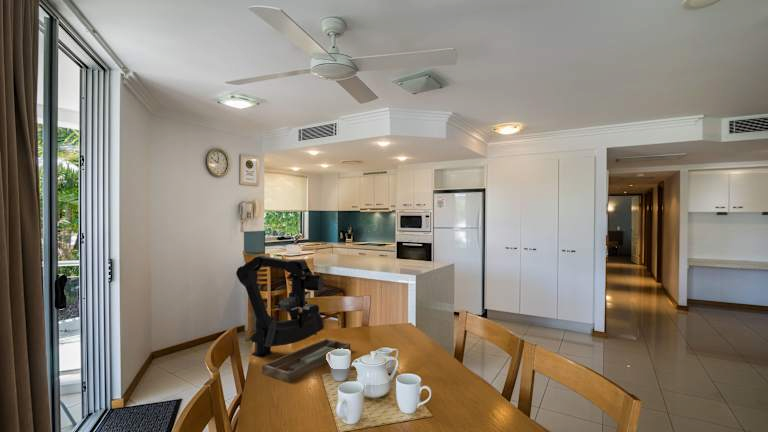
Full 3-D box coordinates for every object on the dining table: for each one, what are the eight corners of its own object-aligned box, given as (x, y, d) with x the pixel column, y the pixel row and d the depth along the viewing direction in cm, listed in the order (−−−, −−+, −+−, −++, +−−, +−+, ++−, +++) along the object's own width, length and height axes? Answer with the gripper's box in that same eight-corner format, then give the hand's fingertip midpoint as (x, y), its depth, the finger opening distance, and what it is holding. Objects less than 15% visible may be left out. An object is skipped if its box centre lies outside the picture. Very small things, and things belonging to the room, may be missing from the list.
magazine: (266, 327, 135) (319, 295, 160) (260, 326, 137) (313, 294, 162) (274, 368, 138) (324, 330, 163) (268, 366, 140) (319, 329, 165)
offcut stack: (286, 374, 136) (286, 365, 136) (329, 352, 159) (329, 344, 159) (298, 377, 133) (298, 368, 133) (340, 354, 156) (340, 346, 156)
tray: (262, 373, 136) (262, 365, 136) (326, 344, 167) (326, 338, 167) (288, 382, 128) (288, 374, 128) (350, 350, 159) (350, 344, 159)
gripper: (267, 290, 149) (267, 328, 149) (300, 295, 140) (300, 336, 139) (288, 286, 159) (287, 321, 159) (320, 291, 149) (319, 329, 149)
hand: (297, 327), depth 151 cm, fingers closed on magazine, 3 cm apart
